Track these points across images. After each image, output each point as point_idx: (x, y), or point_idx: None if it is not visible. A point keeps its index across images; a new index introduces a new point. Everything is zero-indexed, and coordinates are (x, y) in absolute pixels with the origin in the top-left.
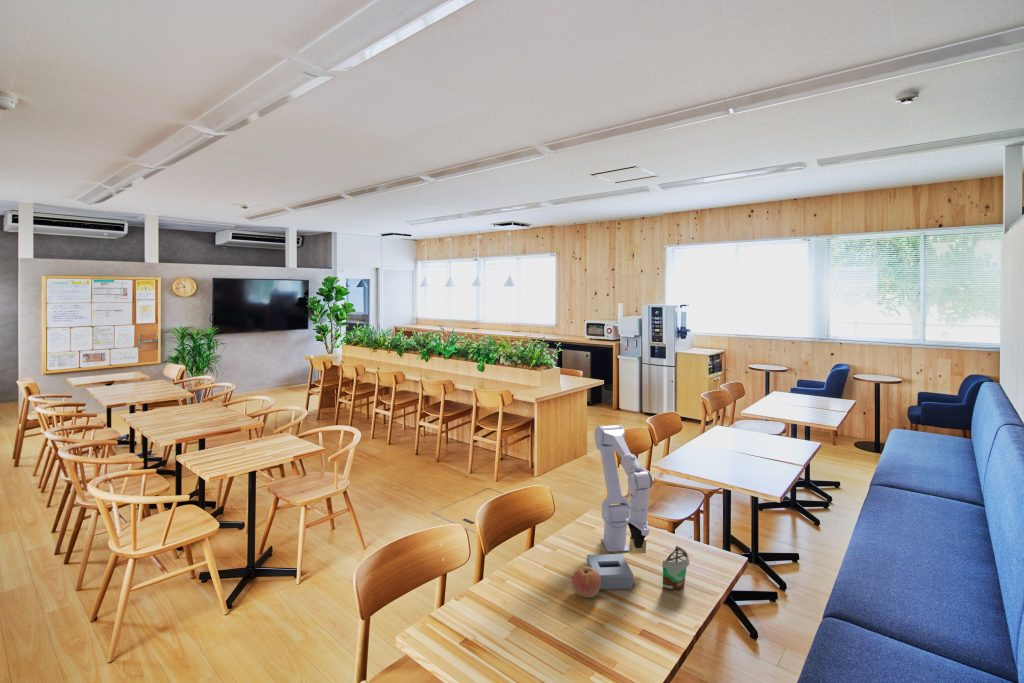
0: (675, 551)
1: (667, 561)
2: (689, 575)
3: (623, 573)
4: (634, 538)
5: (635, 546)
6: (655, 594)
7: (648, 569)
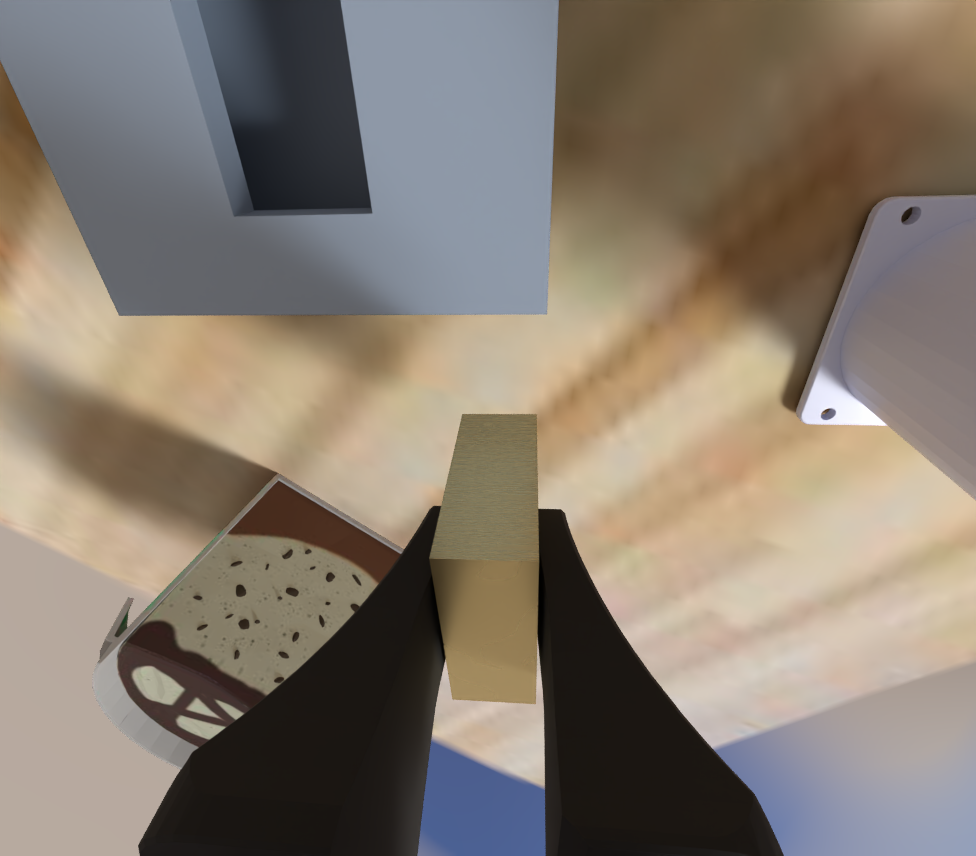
0: None
1: (93, 681)
2: None
3: (84, 200)
4: (371, 614)
5: (424, 519)
6: (198, 412)
7: None
